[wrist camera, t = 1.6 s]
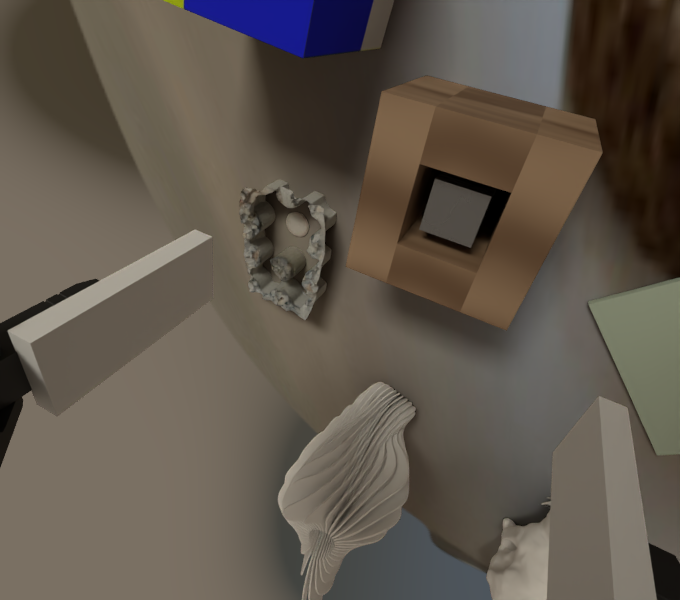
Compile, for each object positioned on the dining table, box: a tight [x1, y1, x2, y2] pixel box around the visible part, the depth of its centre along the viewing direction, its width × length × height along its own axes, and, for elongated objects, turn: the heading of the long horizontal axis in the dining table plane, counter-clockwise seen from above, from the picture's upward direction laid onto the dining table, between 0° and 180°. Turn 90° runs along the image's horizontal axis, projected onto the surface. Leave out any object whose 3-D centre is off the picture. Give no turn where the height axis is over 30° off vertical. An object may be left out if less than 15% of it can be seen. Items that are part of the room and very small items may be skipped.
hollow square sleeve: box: [346, 76, 603, 331], centre depth 25 cm, size 10×10×8 cm
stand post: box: [419, 171, 497, 248], centre depth 25 cm, size 3×3×7 cm
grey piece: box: [239, 180, 337, 320], centre depth 36 cm, size 11×8×4 cm
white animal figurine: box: [486, 497, 551, 600], centre depth 38 cm, size 6×8×12 cm
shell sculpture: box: [278, 382, 416, 600], centre depth 35 cm, size 8×8×18 cm
